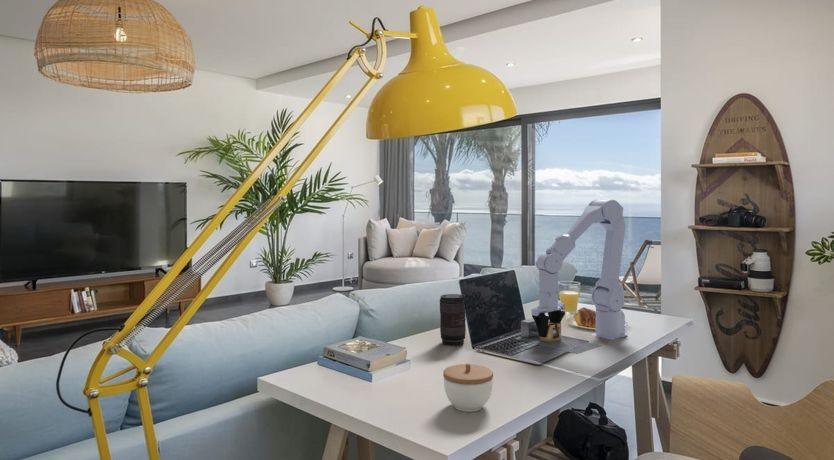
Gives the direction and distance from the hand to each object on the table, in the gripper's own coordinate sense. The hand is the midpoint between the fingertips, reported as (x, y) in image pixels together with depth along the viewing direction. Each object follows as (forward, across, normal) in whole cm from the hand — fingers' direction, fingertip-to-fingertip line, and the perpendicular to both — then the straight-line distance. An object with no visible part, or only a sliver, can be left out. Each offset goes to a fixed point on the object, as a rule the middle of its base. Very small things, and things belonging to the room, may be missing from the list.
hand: (548, 335), depth 168 cm
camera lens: (+2, -23, +19) cm, 30 cm away
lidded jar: (+2, -56, -20) cm, 60 cm away
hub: (+2, 0, -1) cm, 2 cm away
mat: (+2, 0, -3) cm, 4 cm away
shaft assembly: (+2, 0, +3) cm, 3 cm away
